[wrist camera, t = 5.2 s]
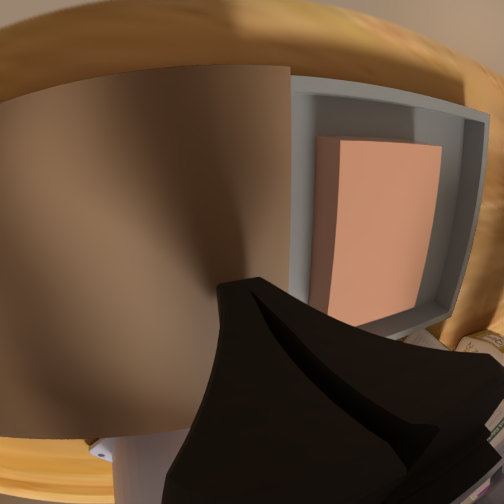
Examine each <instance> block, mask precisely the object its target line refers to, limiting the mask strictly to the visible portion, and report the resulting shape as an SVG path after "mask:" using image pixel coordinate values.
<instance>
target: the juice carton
mask: <svg viewBox="0 0 504 504" xmlns="http://www.w3.org/2000/svg"><path fill="white" fill-rule="evenodd" d="M455 351H459V352H474V353H489V354H490V355H491V356H493V357H494V358H495V359H496V360H497V361H498V362H499V363H500V364H501V365H502V366H504V336H502V335H500V334H498V333H496V332H494V331H491V330H488V329H487V330H483V331H480V332H477V333H474V334H471V335H468V336H464V337H463V338H462V339H461V340H460V342H459V344H458V346H457V348H456V349H455Z"/></svg>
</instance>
